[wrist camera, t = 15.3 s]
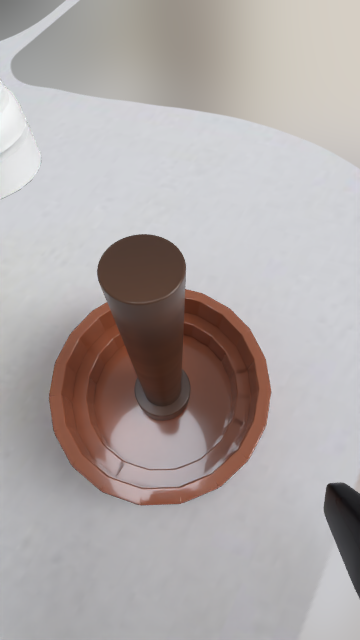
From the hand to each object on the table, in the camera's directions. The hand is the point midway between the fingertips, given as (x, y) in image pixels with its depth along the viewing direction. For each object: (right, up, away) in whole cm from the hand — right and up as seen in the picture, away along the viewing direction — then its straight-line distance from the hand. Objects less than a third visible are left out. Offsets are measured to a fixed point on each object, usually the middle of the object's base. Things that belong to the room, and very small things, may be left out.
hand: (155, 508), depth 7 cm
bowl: (-1, -1, +13) cm, 13 cm away
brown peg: (-1, 0, +13) cm, 13 cm away
